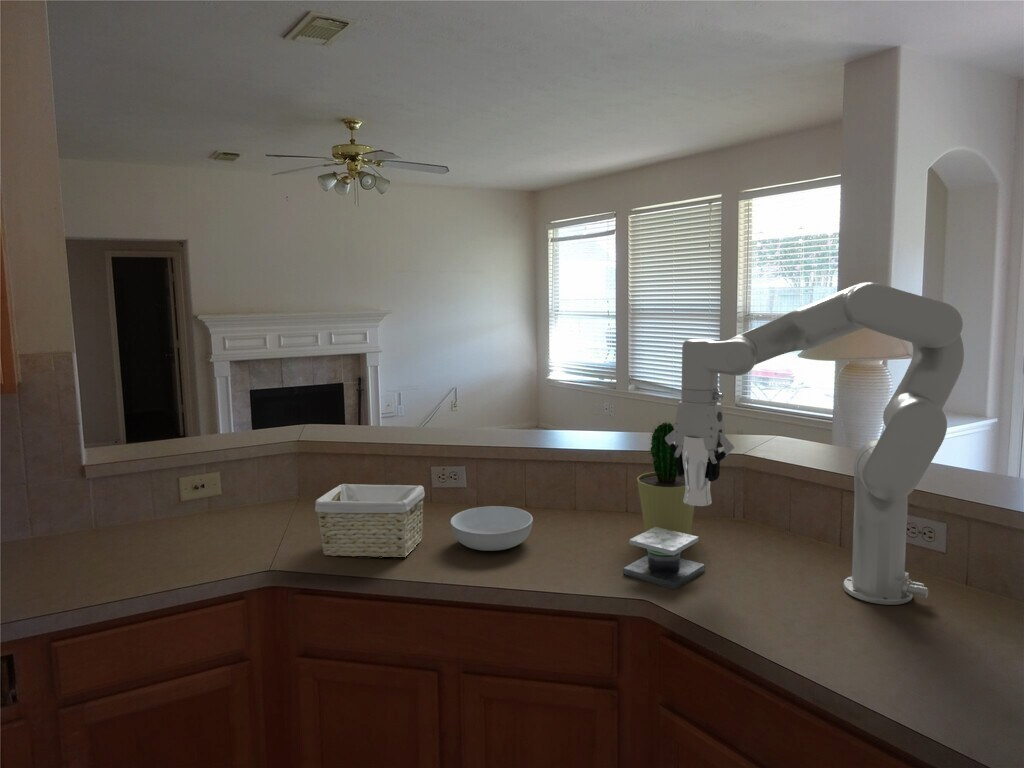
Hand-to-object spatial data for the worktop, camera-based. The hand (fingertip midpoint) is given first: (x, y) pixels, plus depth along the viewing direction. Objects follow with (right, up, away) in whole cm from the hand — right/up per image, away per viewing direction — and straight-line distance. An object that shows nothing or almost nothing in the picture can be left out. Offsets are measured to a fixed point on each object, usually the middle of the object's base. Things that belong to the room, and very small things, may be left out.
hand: (697, 476), depth 154 cm
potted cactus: (0, -19, +28) cm, 34 cm away
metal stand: (-6, -22, +4) cm, 23 cm away
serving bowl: (-45, -21, +25) cm, 56 cm away
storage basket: (-76, -22, +25) cm, 83 cm away
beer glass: (0, -6, +1) cm, 6 cm away
